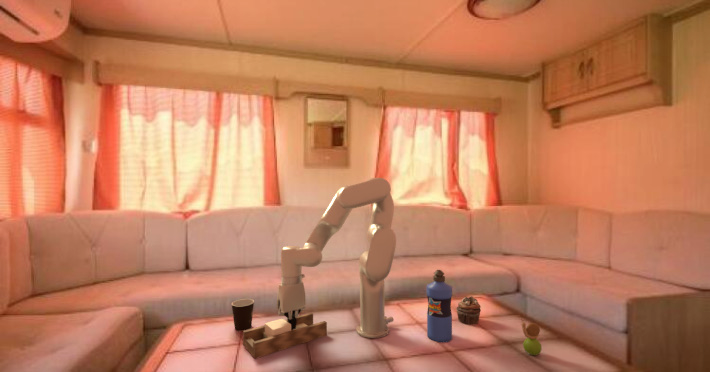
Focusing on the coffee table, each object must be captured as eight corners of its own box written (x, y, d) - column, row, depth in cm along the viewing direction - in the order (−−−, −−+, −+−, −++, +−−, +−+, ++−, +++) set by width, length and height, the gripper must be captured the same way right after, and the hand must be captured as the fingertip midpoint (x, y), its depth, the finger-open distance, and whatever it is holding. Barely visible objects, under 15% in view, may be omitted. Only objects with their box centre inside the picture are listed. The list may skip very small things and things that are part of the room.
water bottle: (435, 329, 131) (435, 266, 131) (457, 336, 125) (456, 270, 125) (422, 336, 125) (421, 270, 125) (444, 345, 118) (443, 275, 118)
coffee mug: (247, 332, 130) (247, 307, 129) (227, 330, 131) (227, 305, 131) (261, 320, 141) (261, 297, 141) (243, 319, 143) (242, 296, 143)
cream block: (282, 329, 126) (282, 318, 126) (291, 335, 120) (291, 324, 120) (264, 334, 121) (264, 323, 121) (273, 341, 116) (273, 329, 116)
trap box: (311, 324, 136) (311, 312, 136) (326, 335, 127) (326, 322, 127) (243, 344, 120) (243, 331, 120) (254, 358, 110) (254, 343, 110)
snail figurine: (517, 350, 114) (516, 315, 114) (534, 349, 114) (534, 315, 114) (526, 359, 108) (526, 322, 108) (545, 358, 109) (545, 321, 109)
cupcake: (470, 315, 145) (470, 292, 145) (485, 324, 136) (485, 299, 136) (451, 318, 142) (451, 294, 142) (465, 327, 133) (465, 302, 133)
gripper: (304, 274, 132) (305, 320, 132) (268, 280, 123) (269, 330, 123) (313, 278, 126) (314, 326, 126) (276, 285, 117) (277, 337, 117)
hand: (292, 328), depth 125 cm, fingers closed
